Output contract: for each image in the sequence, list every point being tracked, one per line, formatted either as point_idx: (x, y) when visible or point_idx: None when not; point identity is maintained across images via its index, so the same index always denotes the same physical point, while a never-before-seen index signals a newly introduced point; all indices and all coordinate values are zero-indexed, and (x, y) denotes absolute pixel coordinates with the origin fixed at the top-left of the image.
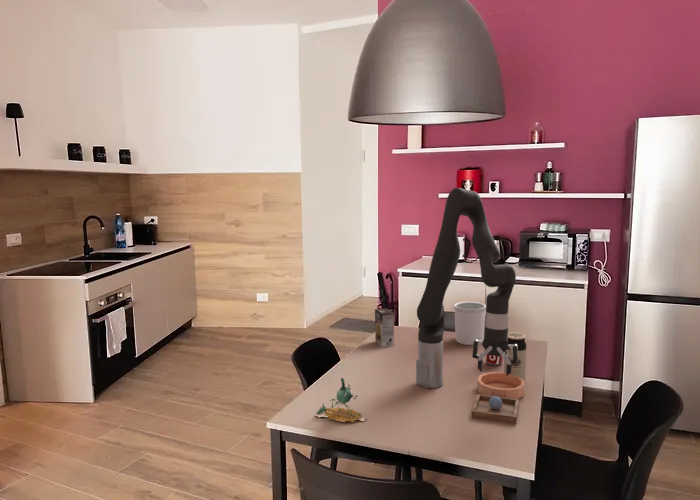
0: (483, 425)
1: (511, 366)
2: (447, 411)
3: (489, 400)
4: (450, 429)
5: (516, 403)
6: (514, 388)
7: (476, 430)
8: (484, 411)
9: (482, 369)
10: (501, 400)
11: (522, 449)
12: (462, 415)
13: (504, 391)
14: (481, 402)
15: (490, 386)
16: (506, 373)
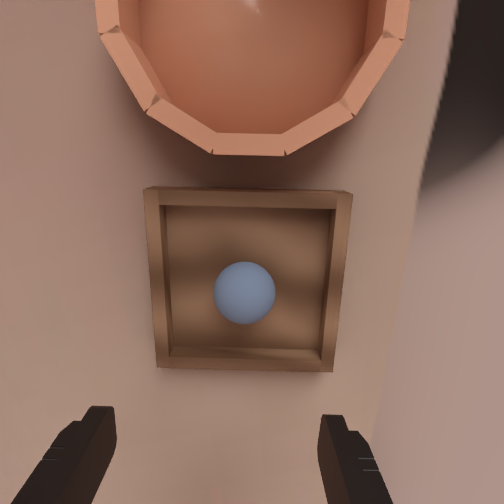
0: (215, 390)
1: (386, 495)
2: (67, 326)
3: (215, 303)
4: (119, 438)
5: (338, 246)
6: (339, 110)
7: (198, 425)
8: (206, 359)
9: (111, 412)
10: (271, 301)
11: None
12: (129, 342)
13: (280, 155)
14: (178, 231)
15: (196, 124)
16: (322, 471)
